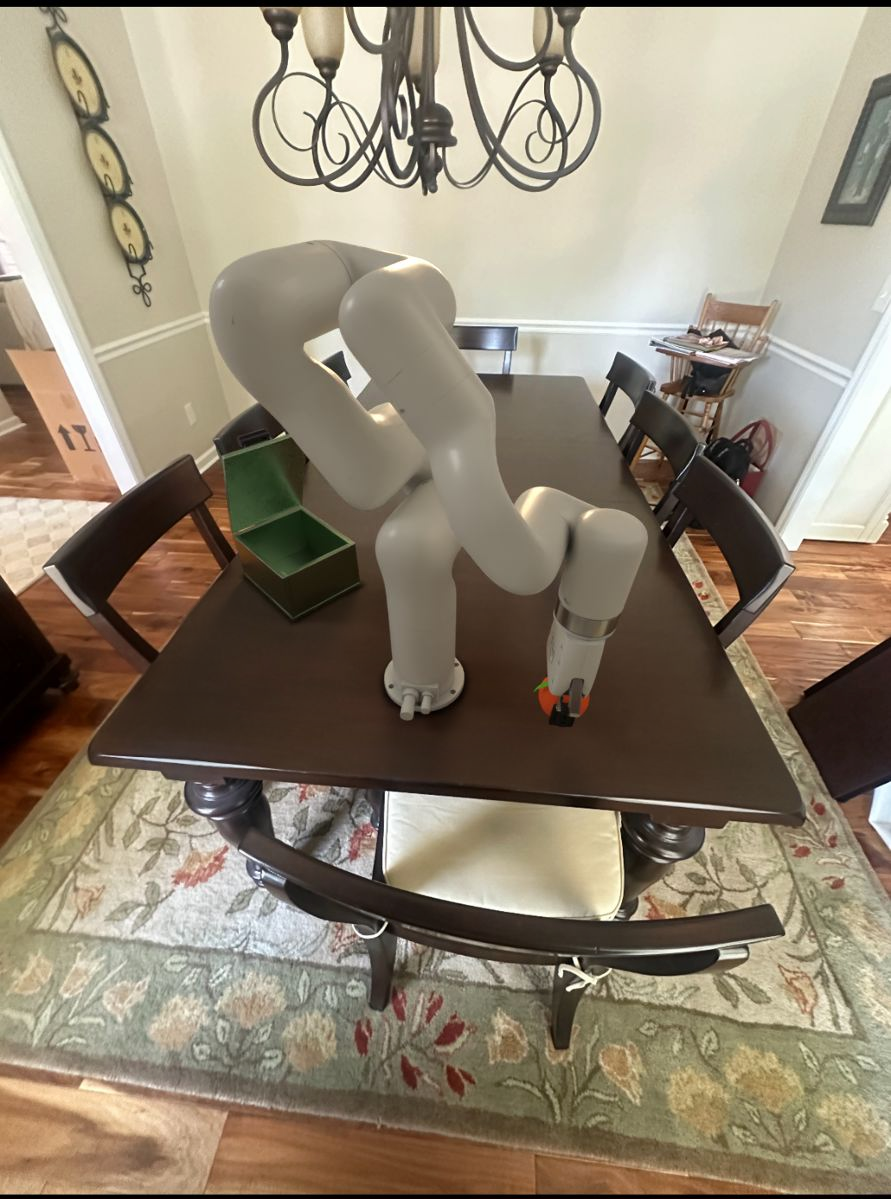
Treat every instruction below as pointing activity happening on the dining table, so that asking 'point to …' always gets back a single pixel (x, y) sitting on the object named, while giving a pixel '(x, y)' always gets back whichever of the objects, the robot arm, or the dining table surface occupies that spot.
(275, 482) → the lid
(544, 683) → the clementine
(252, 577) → the open green keepsake box
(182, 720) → the dining table surface
